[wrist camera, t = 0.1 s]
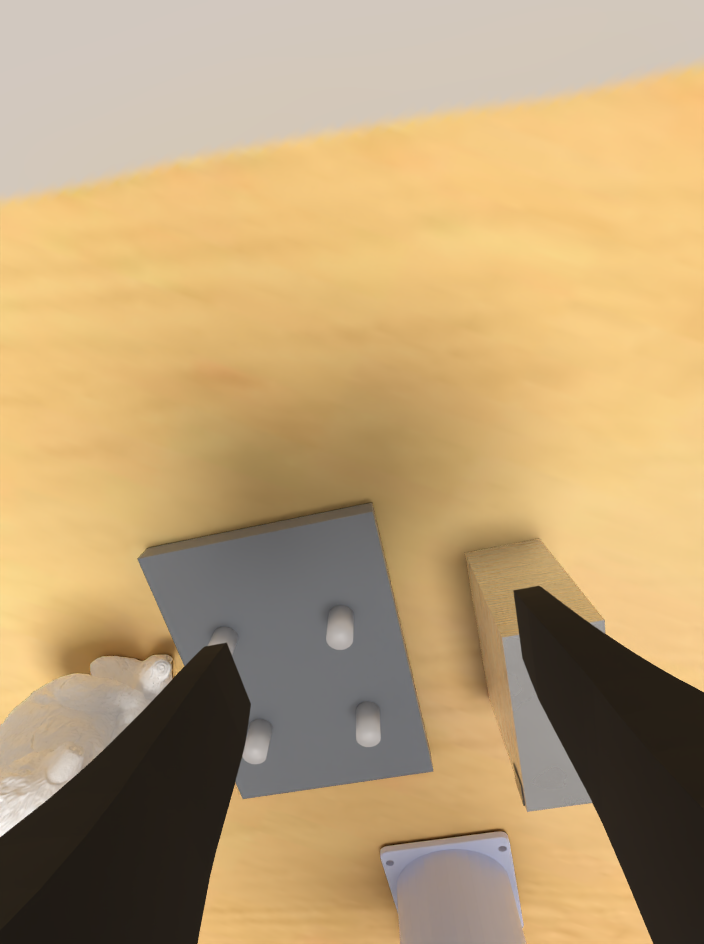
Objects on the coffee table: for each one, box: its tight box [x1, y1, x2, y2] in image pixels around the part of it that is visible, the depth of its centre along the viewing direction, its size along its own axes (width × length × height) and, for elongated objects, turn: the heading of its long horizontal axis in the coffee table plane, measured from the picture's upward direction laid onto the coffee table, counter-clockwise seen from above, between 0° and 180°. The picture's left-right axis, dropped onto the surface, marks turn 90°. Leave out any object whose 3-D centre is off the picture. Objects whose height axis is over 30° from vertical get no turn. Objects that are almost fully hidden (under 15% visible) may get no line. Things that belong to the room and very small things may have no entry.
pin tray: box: [138, 503, 433, 799], centre depth 22 cm, size 16×11×3 cm
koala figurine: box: [0, 654, 173, 837], centre depth 18 cm, size 8×7×12 cm
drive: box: [465, 539, 605, 812], centre depth 20 cm, size 9×4×6 cm, turn 13°
